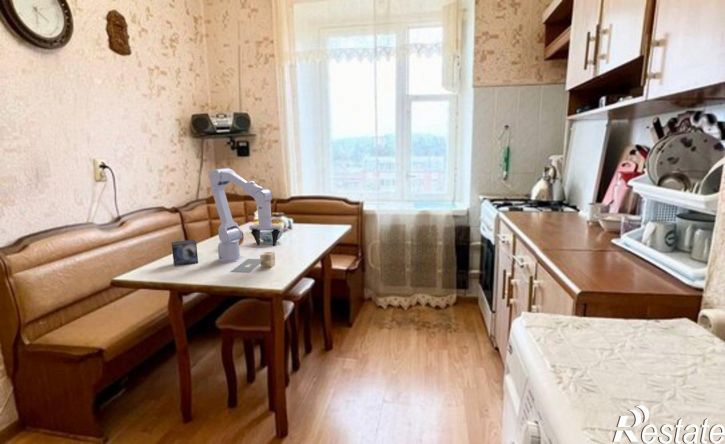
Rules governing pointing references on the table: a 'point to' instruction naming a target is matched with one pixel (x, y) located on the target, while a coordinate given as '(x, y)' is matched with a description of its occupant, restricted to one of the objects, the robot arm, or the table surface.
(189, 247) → the small box
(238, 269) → the grey plate
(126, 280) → the table surface
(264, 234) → the chinaware
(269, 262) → the maple block
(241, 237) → the tin
